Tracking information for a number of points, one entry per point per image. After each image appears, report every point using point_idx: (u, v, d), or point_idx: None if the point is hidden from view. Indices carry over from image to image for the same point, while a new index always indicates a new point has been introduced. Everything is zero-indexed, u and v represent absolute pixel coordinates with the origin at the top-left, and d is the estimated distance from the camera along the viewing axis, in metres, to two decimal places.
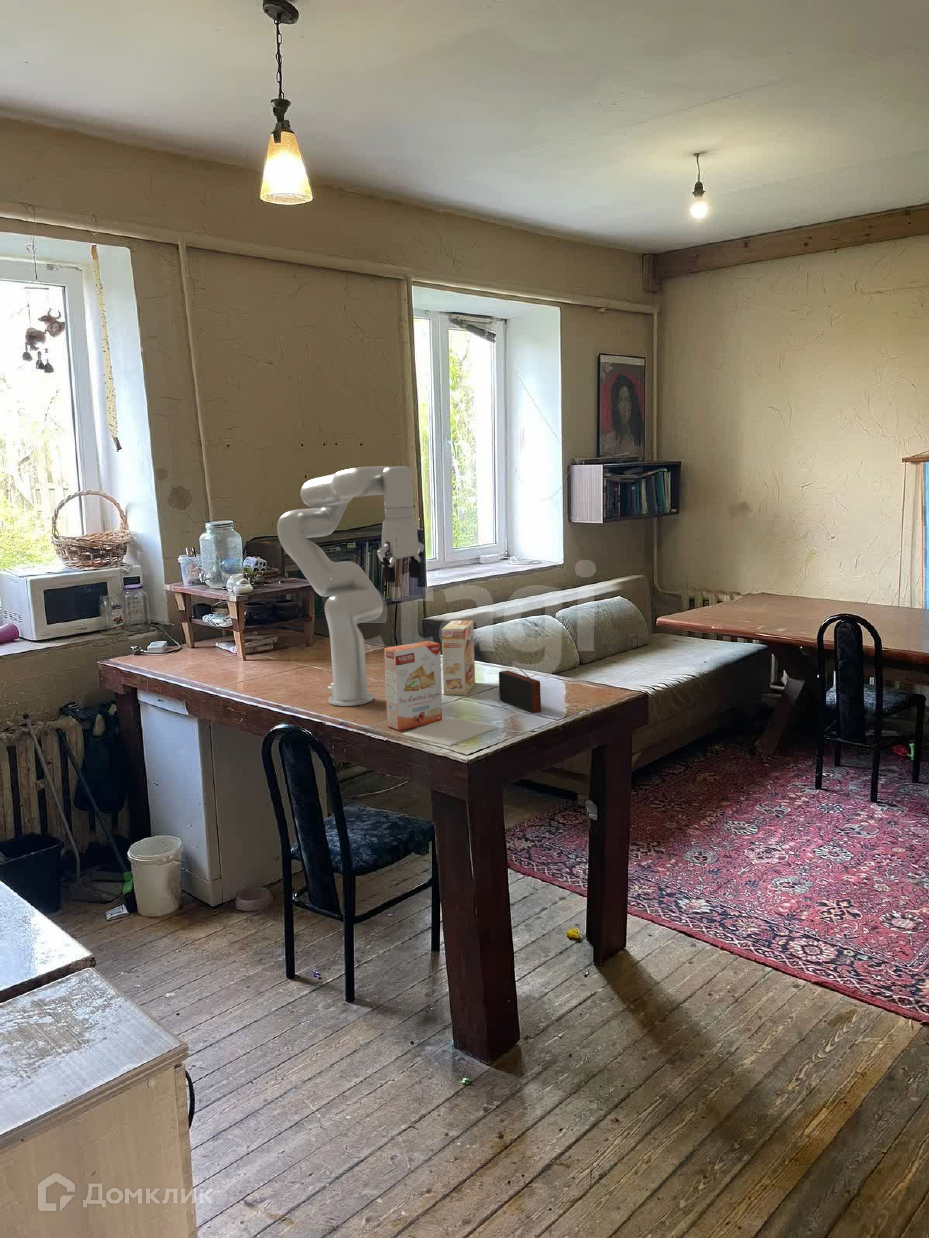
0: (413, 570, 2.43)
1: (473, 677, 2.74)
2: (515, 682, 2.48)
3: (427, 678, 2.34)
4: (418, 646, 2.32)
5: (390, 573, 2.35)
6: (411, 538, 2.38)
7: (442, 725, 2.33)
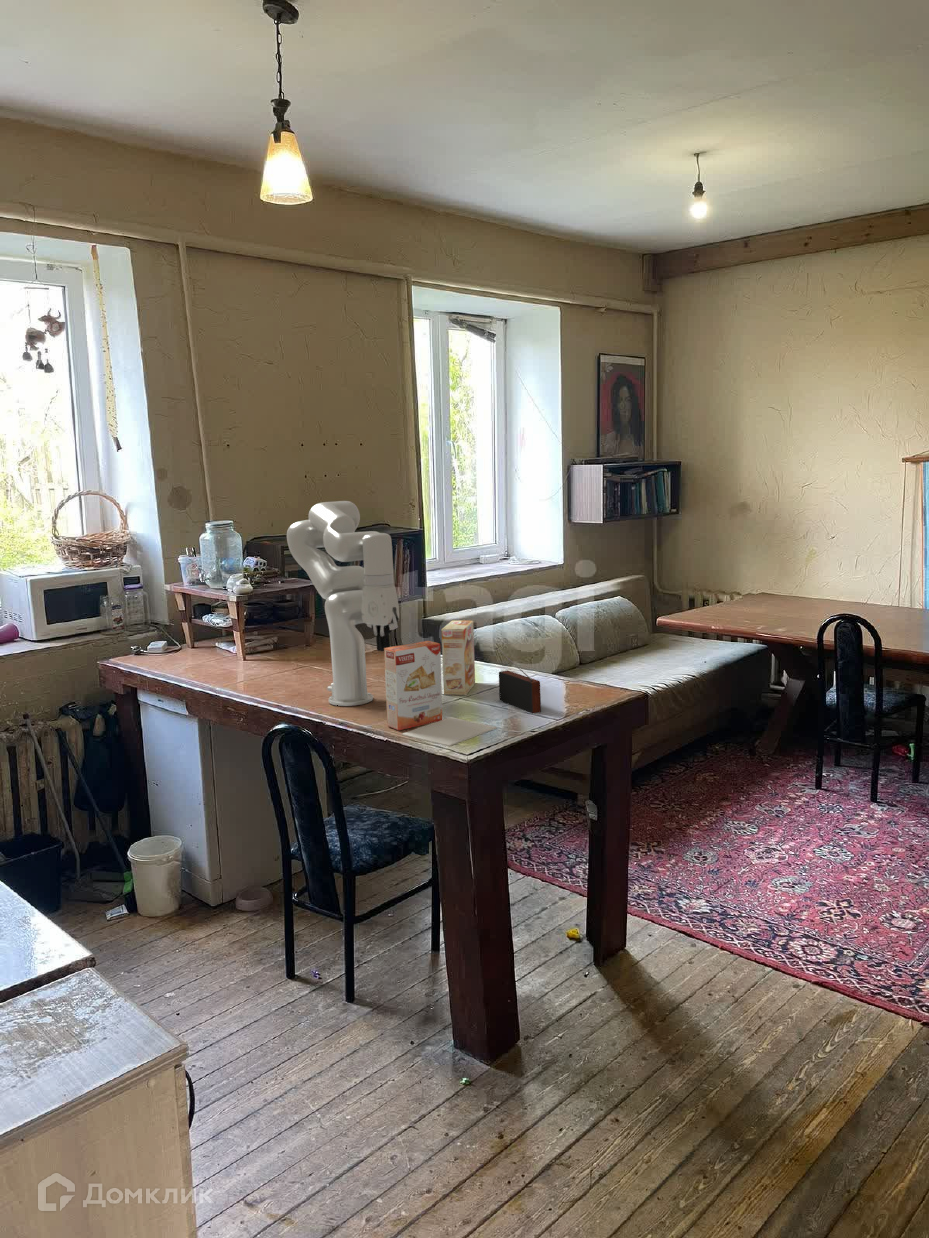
0: None
1: (473, 677, 2.74)
2: (515, 682, 2.48)
3: (427, 678, 2.34)
4: (418, 646, 2.32)
5: None
6: None
7: (442, 725, 2.33)
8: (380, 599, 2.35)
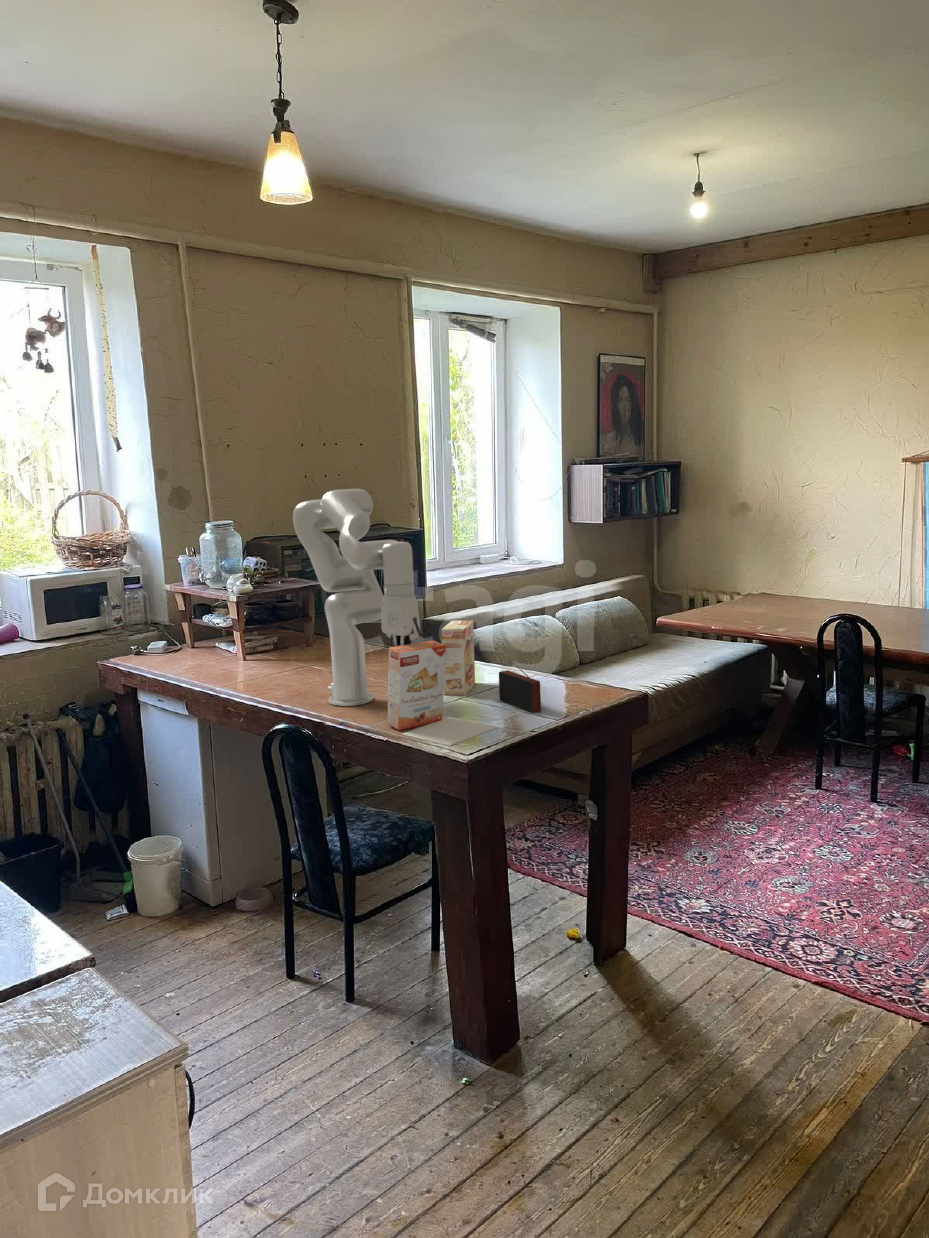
0: None
1: (473, 677, 2.74)
2: (515, 682, 2.48)
3: (430, 679, 2.33)
4: (423, 647, 2.30)
5: None
6: None
7: (442, 725, 2.33)
8: (400, 609, 2.30)
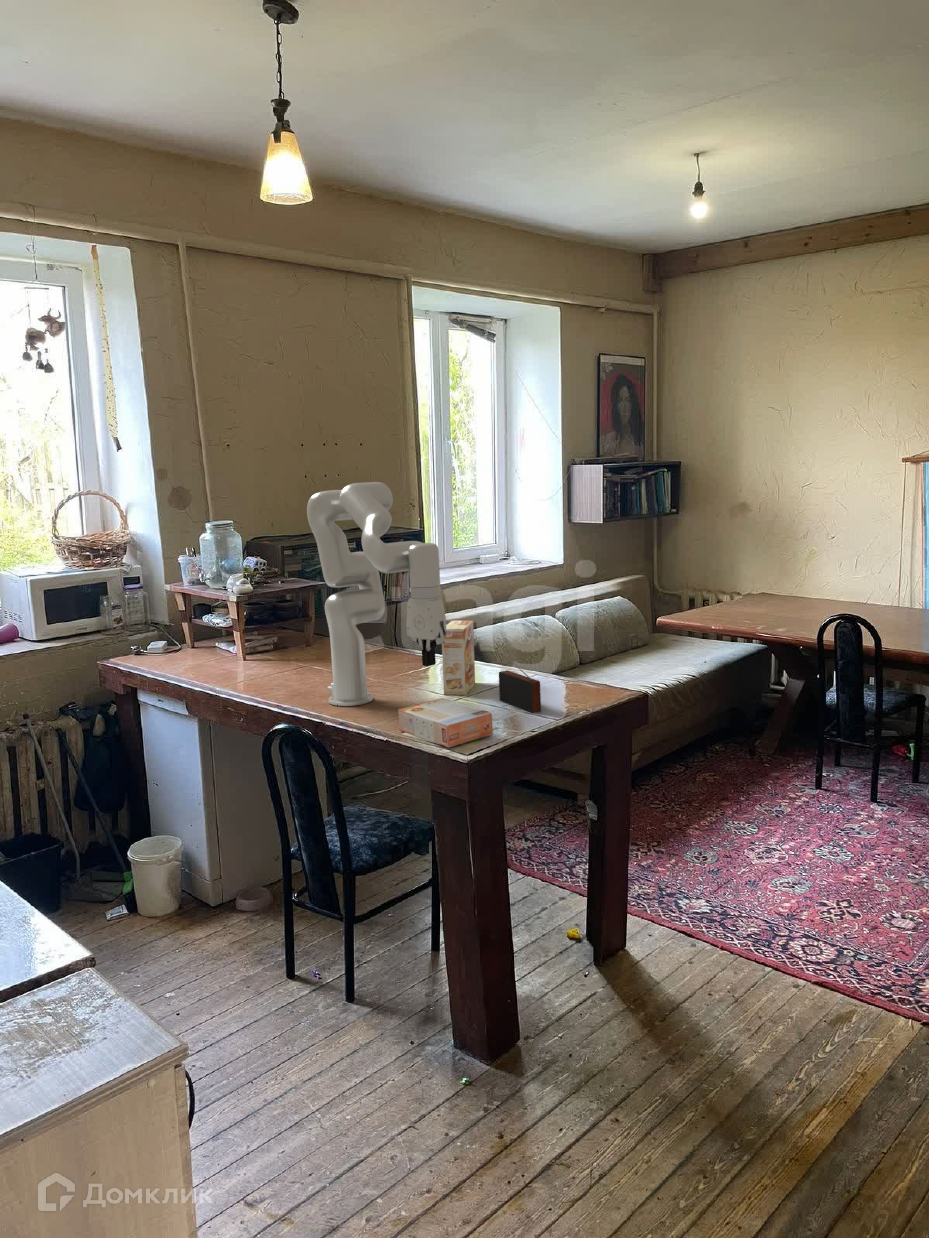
0: None
1: (473, 677, 2.74)
2: (515, 682, 2.48)
3: None
4: (472, 737, 2.19)
5: None
6: None
7: None
8: (427, 612, 2.24)
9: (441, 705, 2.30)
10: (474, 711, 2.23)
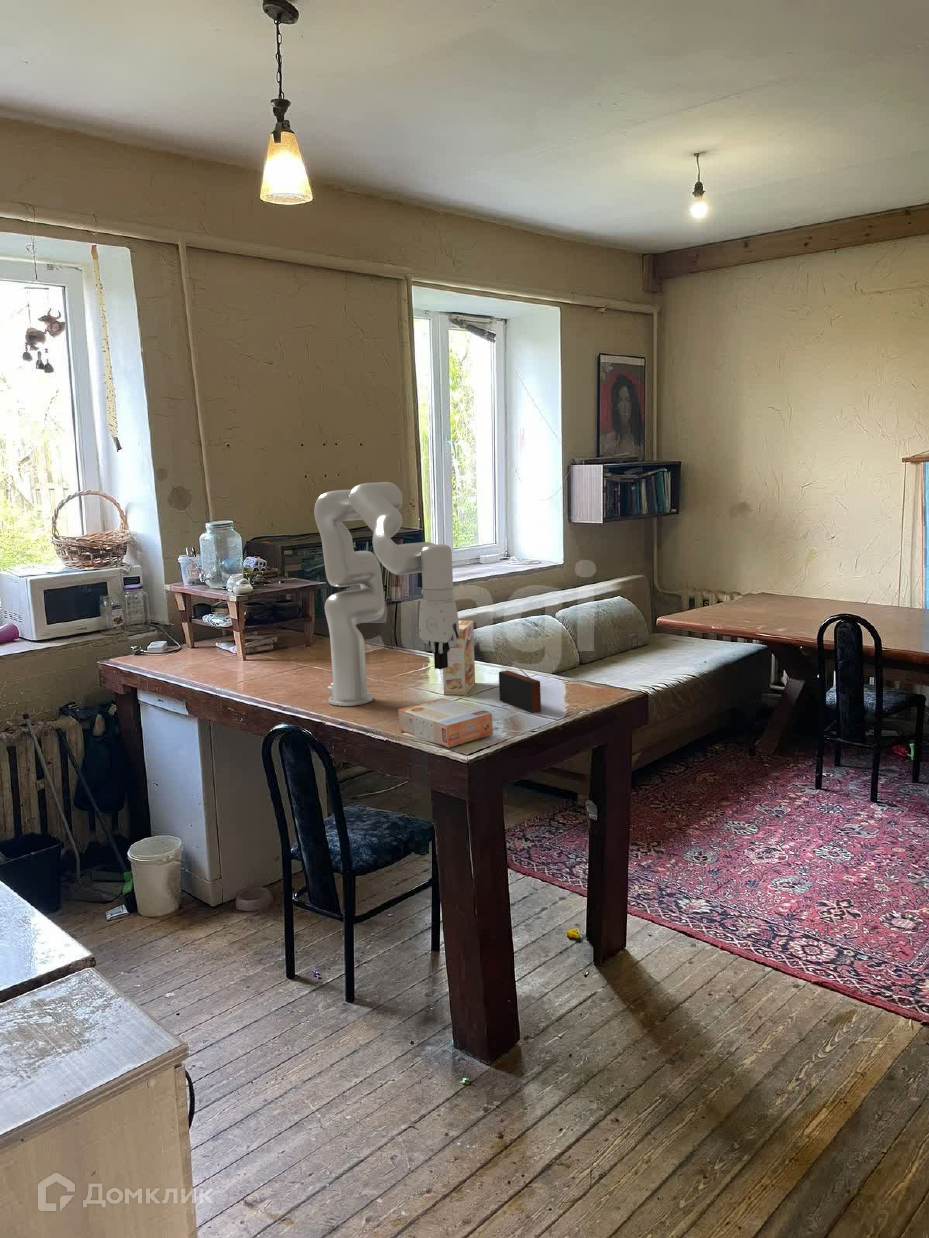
0: None
1: (473, 677, 2.74)
2: (515, 682, 2.48)
3: None
4: (472, 737, 2.19)
5: None
6: None
7: None
8: (440, 615, 2.21)
9: (441, 705, 2.30)
10: (474, 711, 2.23)
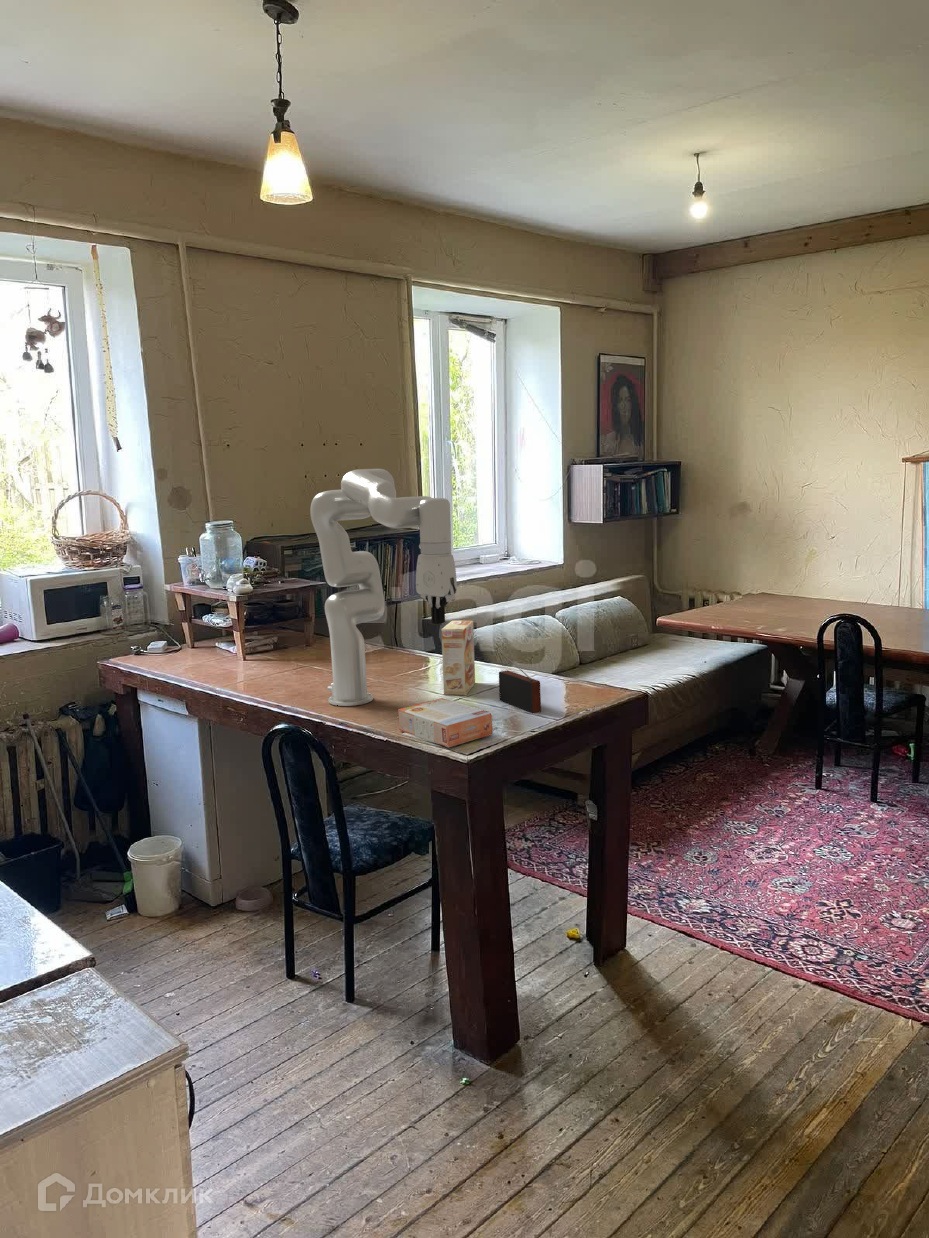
0: None
1: (473, 677, 2.74)
2: (515, 682, 2.48)
3: None
4: (472, 737, 2.19)
5: None
6: None
7: None
8: (437, 568, 2.19)
9: (441, 705, 2.30)
10: (474, 711, 2.23)
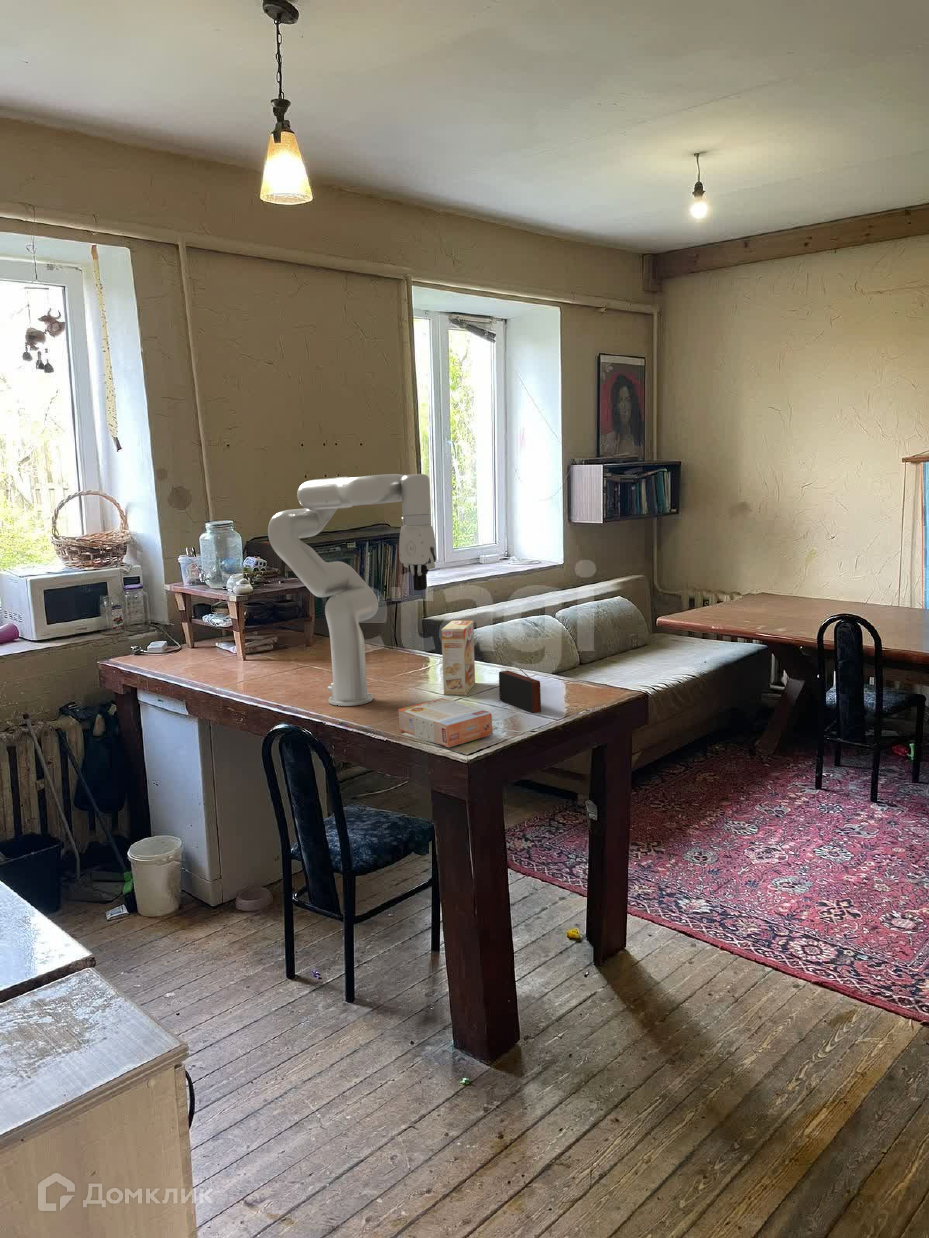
0: None
1: (473, 677, 2.74)
2: (516, 682, 2.48)
3: None
4: (472, 737, 2.19)
5: None
6: None
7: None
8: (418, 538, 2.39)
9: (441, 705, 2.30)
10: (474, 711, 2.23)
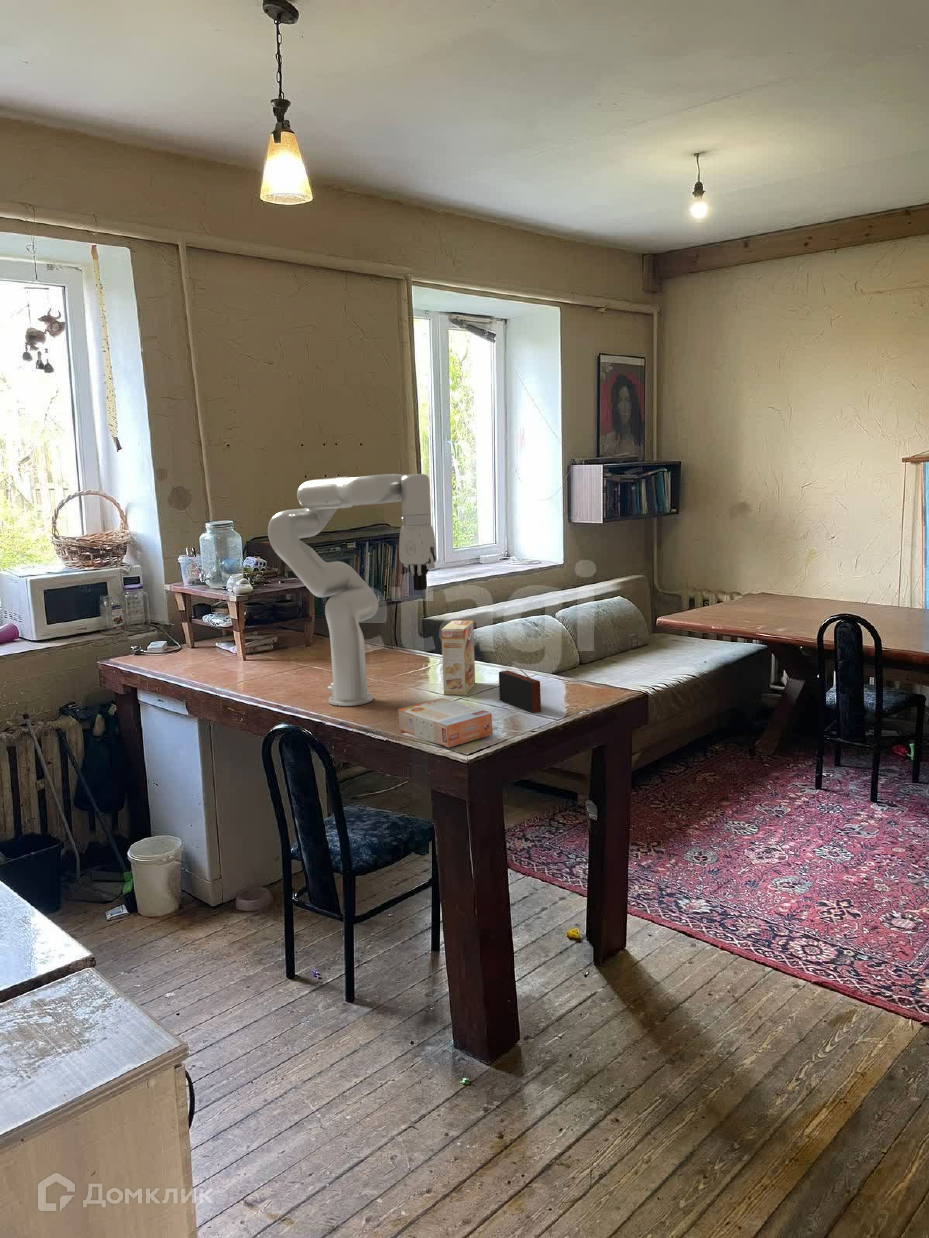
0: None
1: (473, 677, 2.74)
2: (515, 682, 2.48)
3: None
4: (472, 737, 2.19)
5: None
6: None
7: None
8: (418, 538, 2.39)
9: (441, 705, 2.30)
10: (474, 711, 2.23)
